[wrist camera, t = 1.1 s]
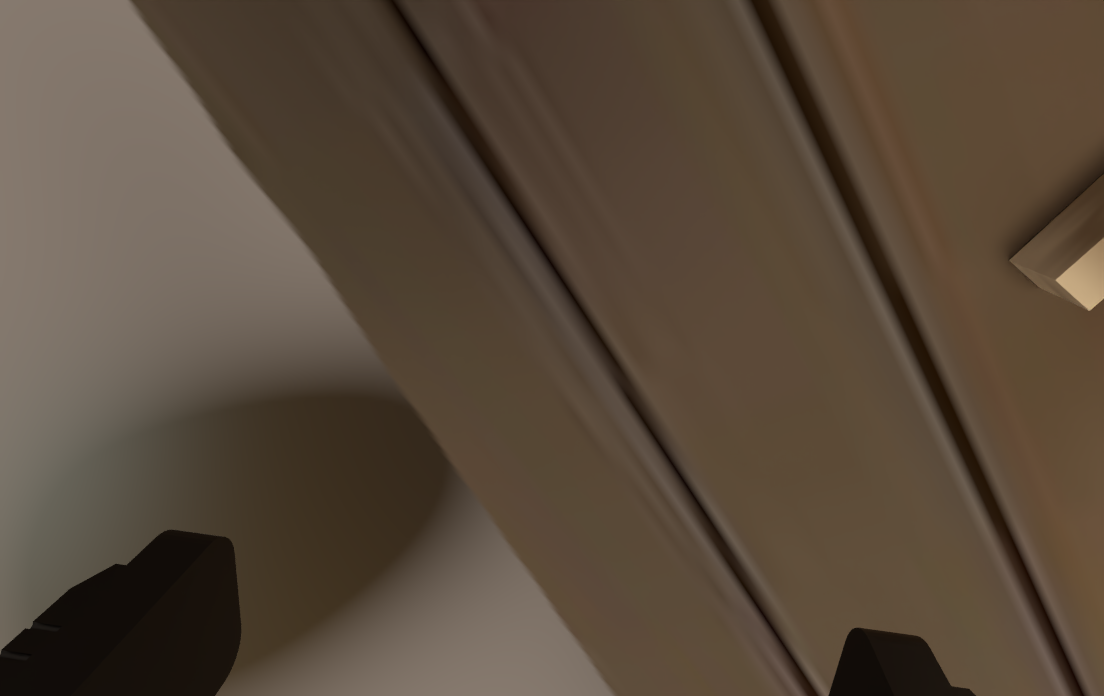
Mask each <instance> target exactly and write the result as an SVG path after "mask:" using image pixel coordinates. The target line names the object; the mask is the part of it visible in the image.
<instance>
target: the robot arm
mask: <svg viewBox="0 0 1104 696" xmlns="http://www.w3.org/2000/svg"><path fill="white" fill-rule="evenodd" d="M240 639H241V618H240V607H239V597H238V585H237V575H236V564H235V553H234V547H233V545H232V542H231V541H230V540H229V539H228V538H226V537H222V536H214V535H207V534H200V533H193V532H186V531H179V530H167V531H164V532H163V533H161V534H160V535H158V536H157V537H156V538H155V539H154V540H153V541H152V542H151V543H150V544H149V545H148V546H146V547H145V548H144V549H143V550H142V551H141V552H140V553H139V554H138V555H137V556H136V557H135V558H134V559H133V560H132V561H131V562H129V563H128V564H127V565H120V564H115V565H113V566H111V567H109V568H107V569H106V570H104V571H102V572H100V573H98V574H96V575H94V576H93V577H91V578H89V579H87V580H85V581H84V582H82V583H80V584H78V585H76V586H74V587H72V588H71V589H69V590H68V591H67V592H66V593H65V594H64V595H62V596H61V597H60V598H59V599H58V600H57V601H56V602H55V603H53V604H52V605H51V606H50V607H49V608H48V609H47V610H46V611H45V612H44V613H42V614H41V615H40V616H39V617H38V618H37V619H35V620H34V621H33V625H32V627H31V628H30V629H24V630H23V631H22V632H21V633H20V634H19V635H18V636H16V637H15V638H14V639H13V640H12V641H11V642H10V643H9V644H7V645H6V646H5V647H4V648H3V649H2V651H1V654H0V696H215V695H216V693H217V692H218V691H219V689H220V688H221V686H222V685H223V683H224V682H225V680H226V678H227V677H228V675H229V673H230V671H231V669H232V667H233V664H234V662H235V659H236V656H237V653H238V649H239V645H240ZM829 696H976V695H975V694H974V693H973V692H972V691H971V690H970V689H966V688H959V687H952V686H951V685H950V683H949V682H948V680H947V678H946V676H945V674H944V673H943V671H942V669H941V667H940V665H939V663H938V662H937V660H936V658H935V656H934V654H933V653H932V651H931V649H930V647H929V646H928V644H927V643H926V642H925V641H924V640H923V639H922V638H921V637H918V636H914V635H907V634H900V633H893V632H885V631H878V630H871V629H864V628H854V629H852V630H851V631H850V632H849V634H848V636H847V638H846V641H845V644H844V647H843V651H842V654H841V657H840V660H839V664H838V667H837V670H836V673H835V677H834V680H833V683H832V686H831V689H830V693H829Z"/></svg>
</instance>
